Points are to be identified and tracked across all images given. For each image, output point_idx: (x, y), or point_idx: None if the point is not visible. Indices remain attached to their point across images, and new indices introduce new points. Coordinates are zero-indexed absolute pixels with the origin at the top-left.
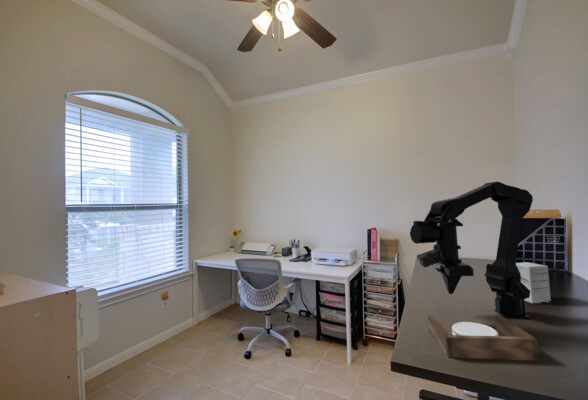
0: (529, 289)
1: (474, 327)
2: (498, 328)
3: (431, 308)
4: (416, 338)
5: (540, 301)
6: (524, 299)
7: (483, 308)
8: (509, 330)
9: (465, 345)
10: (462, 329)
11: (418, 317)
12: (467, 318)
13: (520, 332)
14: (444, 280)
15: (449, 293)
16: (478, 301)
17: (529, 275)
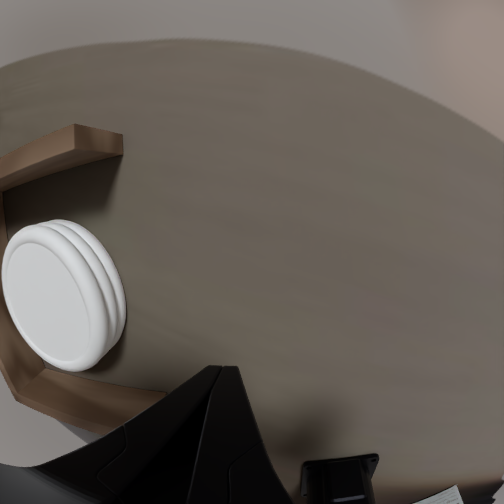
0: None
1: (57, 315)
2: (143, 403)
3: (447, 228)
4: (65, 91)
5: None
6: (428, 499)
7: (410, 431)
8: (79, 403)
9: None
10: (29, 261)
11: (300, 109)
12: (306, 360)
13: (33, 400)
14: (213, 457)
15: (206, 367)
16: (470, 424)
17: None
